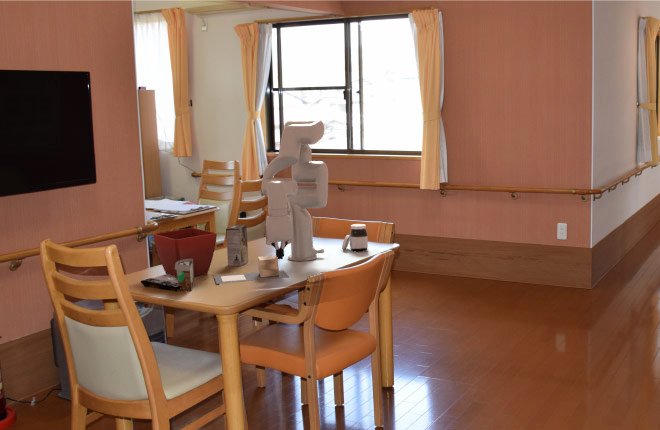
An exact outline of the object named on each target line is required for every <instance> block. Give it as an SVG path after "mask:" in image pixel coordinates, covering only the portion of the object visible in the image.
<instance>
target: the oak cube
mask: <svg viewBox="0 0 660 430" xmlns="http://www.w3.org/2000/svg"><path fill="white" fill-rule="evenodd" d="M257 264H258V265H257V266H258V272H259V275H260V277H261V278H266V277H275V276H279V271H280V269H279V259H278V257H276V254H272V255H262V256H257Z"/></svg>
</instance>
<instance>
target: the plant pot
mask: <svg viewBox="0 0 660 430" xmlns="http://www.w3.org/2000/svg"><path fill="white" fill-rule="evenodd" d="M152 236H153V241H154V245H155V249H156V253H157V254H158V258H159V261H160V264H161V266H162V268H163V270H164V272H165V275H168V276H172V277H174V278H177V279H178V276H177V270H176V269H175V264H176V262H177V261H180V260H185V259H193V275H194V277H196V276H202V275H207V274H208V273H209V272H210V267H211V264H212V262H213V257H214V253H215V248H216V243H217V242H216V241H217V232H214V231H210V230H205V229H200V228H195V227H191V228H184V229H175V230H170V231H162V232H155V233H153V234H152Z"/></svg>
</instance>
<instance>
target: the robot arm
mask: <svg viewBox="0 0 660 430" xmlns="http://www.w3.org/2000/svg"><path fill="white" fill-rule="evenodd" d="M324 135H325V124H324V122H323V121H322V120H321V119H293V120H288V121H287V122H285V123H284V127H283V130H282V133H281V139H280V145H279V150H278V155H277V156H276V157H275V158H273V159H272V160H271V161H270V163H269V164H268V165H267V166H266V167H265V170H264V171H263V174H262V175H263V176H262V180H261V192H262V194H263V196H264V197H266V198H267V210H268V215H267V216H266V218H265V244H266V246H271V247H273V248H274V249H275V255H276V257H277V258H278V260H283V258H284V257H285V248H286V247H287V246H288V245H290V248H291V249H290V252H291V253H290V254H288V256H287V259H288V260H289V261H294V262H308V261H312V260H316V259H317V258H318V254H324V253H325V249H324V248H320V247H319V248H315V247H314V242H313V241H314V239H313V237H314V236H313V218H312V215H311V214H310V212H309V211H308V210H307V209H323V208H325V207H327V203H328V198H329V197H328V195H329V194H328V193H329V169H328V166H327V164H326V162H324V161H320V160H318V161H315V160H313V161H312V158H313V157H312V154H313V153H312V152H313V151H312V148H311V146H310V145H315V144H317V143H318V142H319V141H320V140H322V138H323V137H324ZM289 167H291V178H290V177H289V178H288V177H287V178H278V177H277V178H275V177H274V176H276V174H277V173H279V172H280V171H282V170H285V169H287V168H289ZM298 184H316V185H309V186H308V185H300V186H299V185H298ZM279 243H280V246H279Z"/></svg>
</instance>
